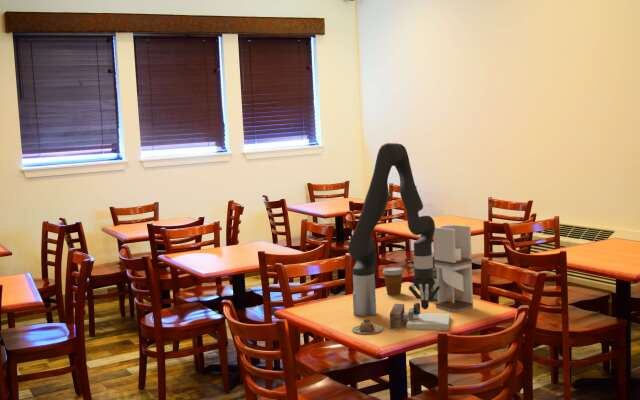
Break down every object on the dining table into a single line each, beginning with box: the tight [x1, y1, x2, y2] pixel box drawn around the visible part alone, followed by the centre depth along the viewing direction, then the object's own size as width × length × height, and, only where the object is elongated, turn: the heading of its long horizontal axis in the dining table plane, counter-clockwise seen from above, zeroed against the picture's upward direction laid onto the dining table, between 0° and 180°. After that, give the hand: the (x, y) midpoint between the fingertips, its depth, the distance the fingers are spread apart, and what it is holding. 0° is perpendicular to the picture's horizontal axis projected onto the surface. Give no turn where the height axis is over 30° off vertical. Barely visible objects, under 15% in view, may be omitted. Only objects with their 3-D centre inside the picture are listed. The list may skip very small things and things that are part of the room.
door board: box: [406, 307, 451, 330], centre depth 310 cm, size 16×16×6 cm
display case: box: [433, 223, 474, 313], centre depth 331 cm, size 11×11×35 cm
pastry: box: [351, 318, 384, 335], centre depth 305 cm, size 12×12×5 cm
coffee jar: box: [424, 258, 438, 302], centre depth 349 cm, size 10×8×19 cm
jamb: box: [389, 303, 406, 330], centre depth 313 cm, size 4×16×6 cm, turn 168°
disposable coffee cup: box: [382, 266, 404, 297], centre depth 362 cm, size 10×10×12 cm
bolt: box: [402, 302, 421, 320], centre depth 312 cm, size 11×3×6 cm, turn 78°
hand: (425, 308), depth 310 cm, fingers closed
